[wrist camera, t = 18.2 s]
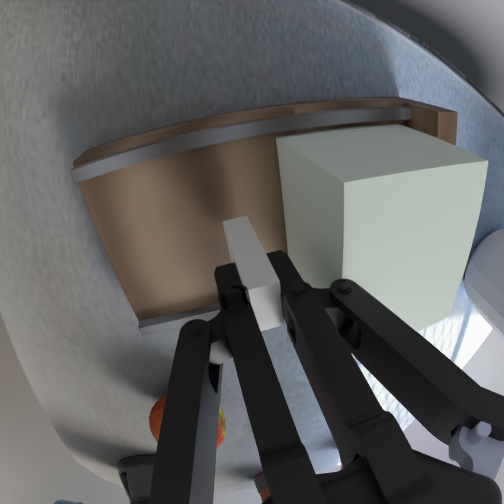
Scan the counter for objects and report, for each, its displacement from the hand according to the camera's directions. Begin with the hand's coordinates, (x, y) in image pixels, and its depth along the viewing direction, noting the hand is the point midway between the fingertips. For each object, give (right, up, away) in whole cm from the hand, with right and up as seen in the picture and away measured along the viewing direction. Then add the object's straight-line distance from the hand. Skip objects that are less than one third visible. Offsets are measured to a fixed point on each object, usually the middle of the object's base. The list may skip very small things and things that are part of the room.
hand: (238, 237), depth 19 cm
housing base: (+2, +3, +4) cm, 6 cm away
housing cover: (+7, +2, +2) cm, 8 cm away
